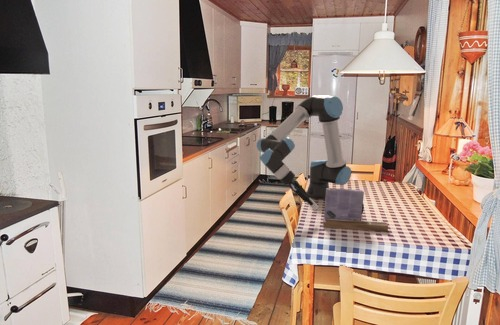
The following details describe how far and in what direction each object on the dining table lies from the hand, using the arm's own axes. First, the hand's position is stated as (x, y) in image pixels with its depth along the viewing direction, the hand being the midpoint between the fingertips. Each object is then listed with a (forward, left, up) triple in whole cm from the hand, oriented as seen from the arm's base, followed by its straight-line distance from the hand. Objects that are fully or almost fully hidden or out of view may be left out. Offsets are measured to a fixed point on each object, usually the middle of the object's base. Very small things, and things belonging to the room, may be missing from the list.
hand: (316, 208), depth 189 cm
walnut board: (+5, +18, -7) cm, 20 cm away
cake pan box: (0, +13, -7) cm, 15 cm away
